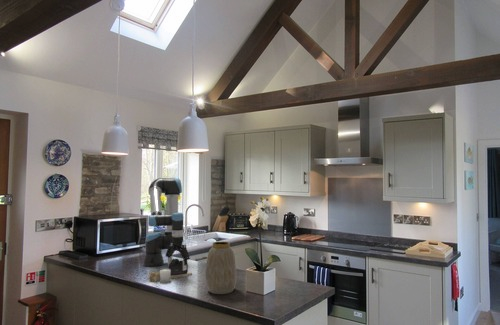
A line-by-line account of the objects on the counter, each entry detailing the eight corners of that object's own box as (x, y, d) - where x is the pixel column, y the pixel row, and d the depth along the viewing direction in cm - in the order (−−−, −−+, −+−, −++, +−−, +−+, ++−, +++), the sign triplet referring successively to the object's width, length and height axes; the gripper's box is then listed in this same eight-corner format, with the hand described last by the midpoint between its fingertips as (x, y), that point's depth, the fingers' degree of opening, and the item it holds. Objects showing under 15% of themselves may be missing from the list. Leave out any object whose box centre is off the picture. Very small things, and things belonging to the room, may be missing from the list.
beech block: (149, 281, 227) (149, 273, 227) (154, 279, 232) (154, 271, 232) (156, 282, 225) (156, 273, 225) (160, 279, 230) (160, 271, 230)
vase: (211, 297, 195) (211, 246, 196) (202, 288, 211) (202, 241, 212) (240, 293, 202) (240, 244, 203) (230, 285, 218) (230, 239, 219)
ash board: (162, 276, 237) (162, 274, 237) (179, 271, 249) (179, 270, 249) (175, 279, 230) (175, 277, 230) (191, 274, 242) (191, 272, 242)
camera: (181, 270, 248) (181, 255, 248) (189, 273, 241) (189, 258, 241) (164, 274, 238) (164, 259, 239) (172, 277, 231) (172, 261, 232)
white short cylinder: (157, 281, 225) (157, 270, 225) (164, 279, 230) (165, 268, 231) (165, 283, 222) (165, 271, 222) (172, 280, 227) (172, 269, 227)
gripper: (160, 235, 245) (160, 267, 244) (186, 238, 231) (186, 272, 230) (168, 233, 251) (168, 264, 250) (195, 237, 237) (195, 270, 236)
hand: (177, 268), depth 240 cm, fingers open, 13 cm apart
